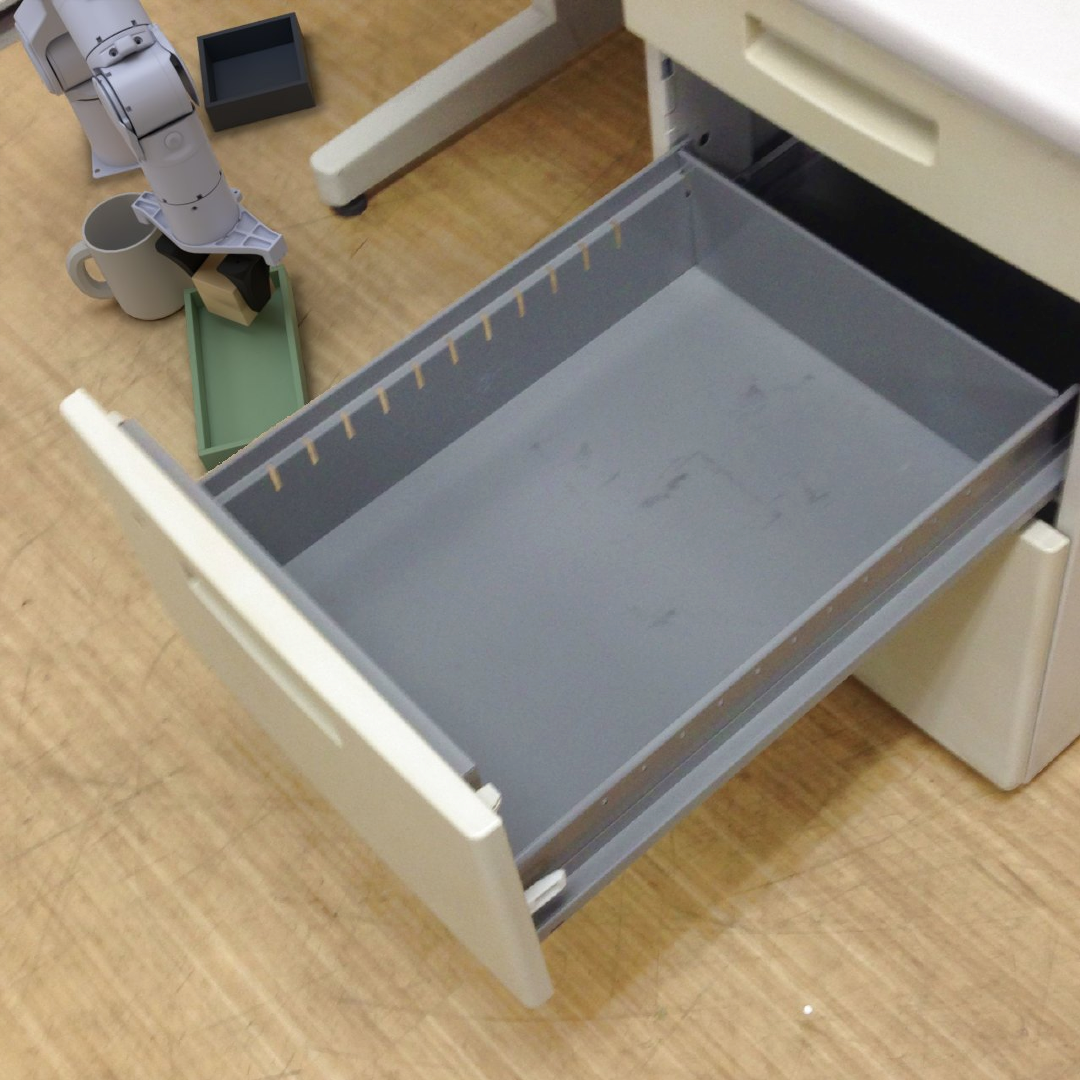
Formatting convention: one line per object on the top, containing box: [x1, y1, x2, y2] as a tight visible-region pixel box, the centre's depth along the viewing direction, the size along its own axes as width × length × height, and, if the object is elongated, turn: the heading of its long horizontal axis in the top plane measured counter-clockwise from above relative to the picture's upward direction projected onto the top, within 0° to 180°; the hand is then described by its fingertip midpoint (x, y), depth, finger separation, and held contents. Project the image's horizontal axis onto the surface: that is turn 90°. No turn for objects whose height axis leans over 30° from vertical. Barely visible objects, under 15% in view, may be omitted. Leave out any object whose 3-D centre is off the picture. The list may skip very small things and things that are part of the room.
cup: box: [65, 191, 195, 321], centre depth 134 cm, size 7×10×9 cm
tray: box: [184, 263, 310, 473], centre depth 130 cm, size 19×9×2 cm, turn 12°
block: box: [192, 253, 276, 326], centre depth 131 cm, size 4×4×4 cm
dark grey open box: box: [196, 11, 316, 133], centre depth 151 cm, size 11×10×4 cm
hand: (240, 296), depth 132 cm, fingers closed on block, 4 cm apart
